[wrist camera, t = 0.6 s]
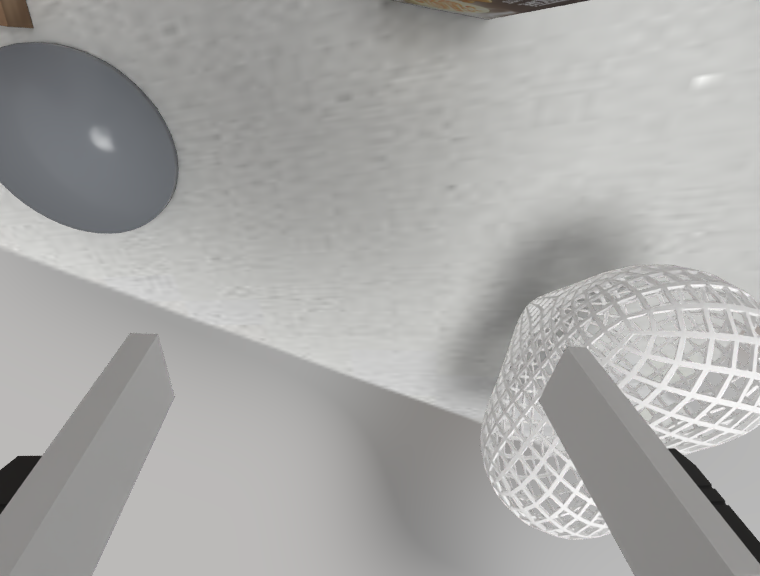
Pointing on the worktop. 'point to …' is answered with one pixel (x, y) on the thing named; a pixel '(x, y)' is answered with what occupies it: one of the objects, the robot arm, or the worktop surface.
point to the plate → (81, 140)
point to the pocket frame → (15, 14)
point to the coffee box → (489, 6)
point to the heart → (621, 379)
